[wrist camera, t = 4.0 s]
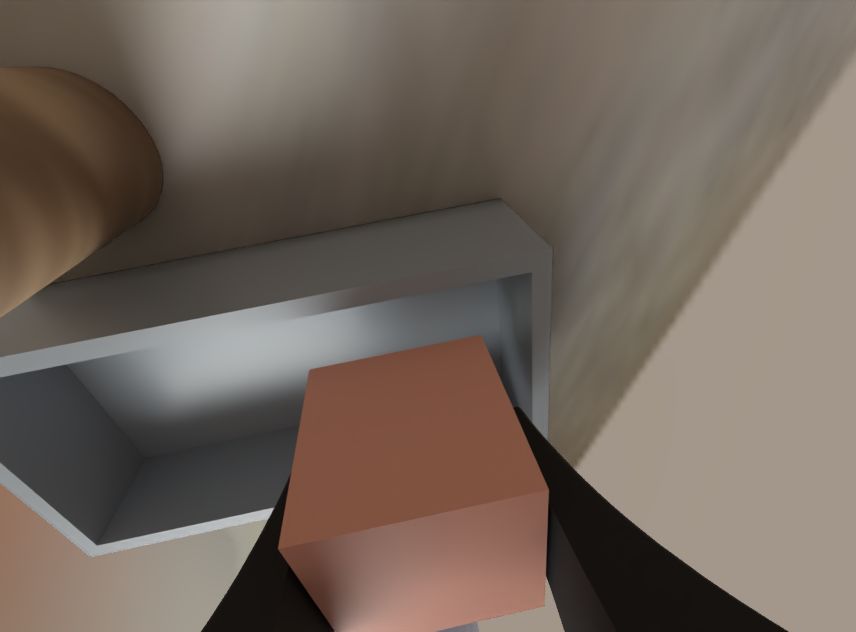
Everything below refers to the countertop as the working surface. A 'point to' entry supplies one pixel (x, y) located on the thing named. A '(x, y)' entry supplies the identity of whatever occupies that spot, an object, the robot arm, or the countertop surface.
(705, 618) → the robot arm
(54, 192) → the cylinder
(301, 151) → the countertop surface
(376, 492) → the cube
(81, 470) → the box
